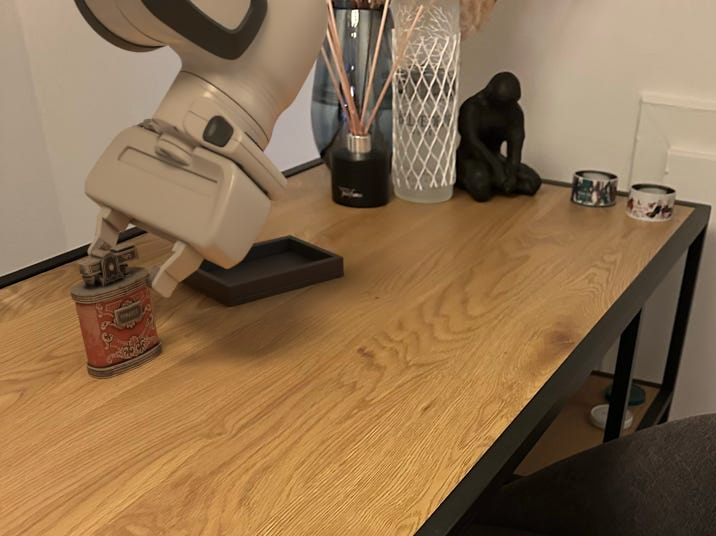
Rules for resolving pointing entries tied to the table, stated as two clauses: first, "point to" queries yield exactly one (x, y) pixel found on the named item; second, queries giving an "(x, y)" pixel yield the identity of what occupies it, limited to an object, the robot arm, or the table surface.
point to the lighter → (115, 312)
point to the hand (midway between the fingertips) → (125, 276)
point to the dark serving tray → (267, 271)
